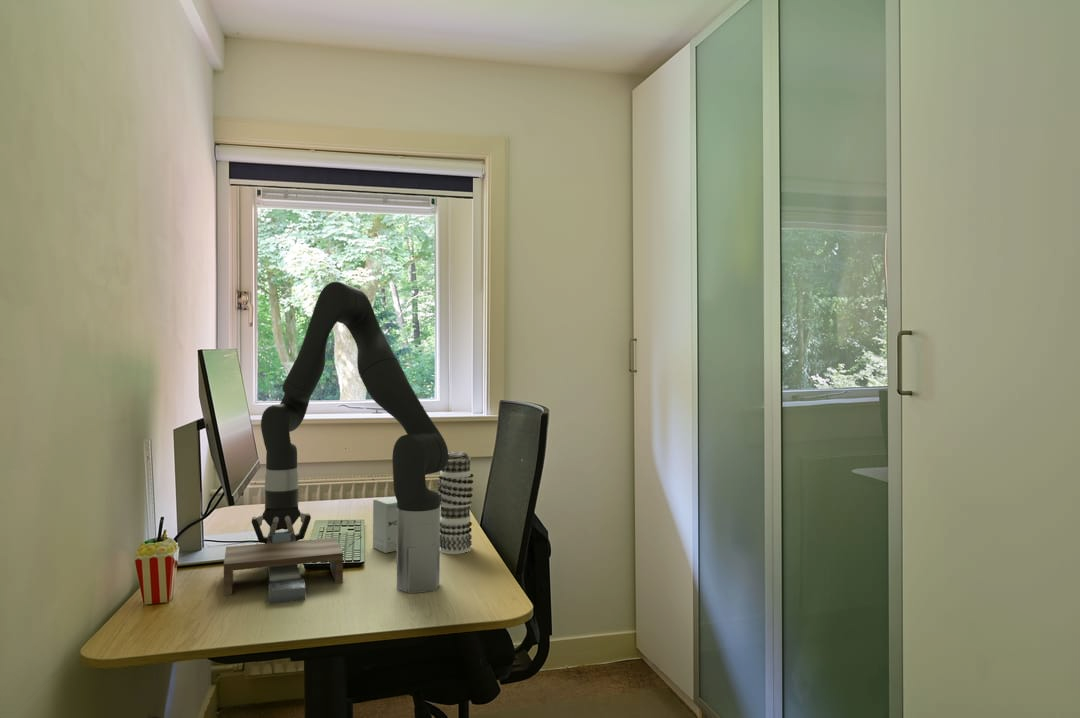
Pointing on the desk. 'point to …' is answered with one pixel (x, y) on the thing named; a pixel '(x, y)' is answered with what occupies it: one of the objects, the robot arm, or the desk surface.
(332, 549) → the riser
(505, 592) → the desk surface
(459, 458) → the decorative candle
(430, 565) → the robot arm
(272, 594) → the grey flat block
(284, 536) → the grey bar
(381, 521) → the supplement box
